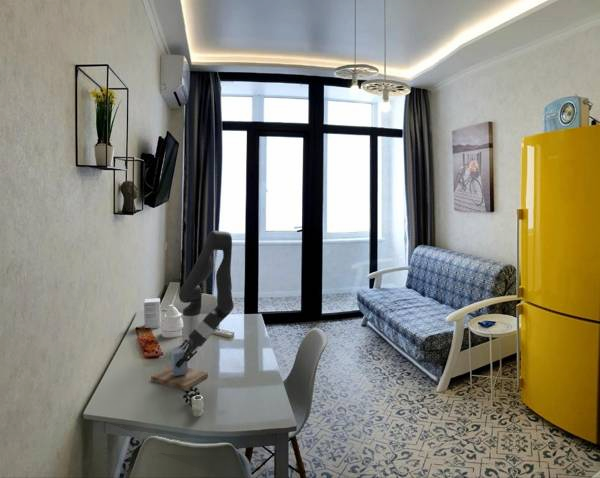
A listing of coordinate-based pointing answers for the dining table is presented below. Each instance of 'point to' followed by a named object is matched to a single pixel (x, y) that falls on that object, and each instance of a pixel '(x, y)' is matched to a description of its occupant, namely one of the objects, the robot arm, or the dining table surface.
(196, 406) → the valve
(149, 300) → the supplement box
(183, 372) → the block
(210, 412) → the dining table surface
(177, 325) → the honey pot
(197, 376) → the post plate
